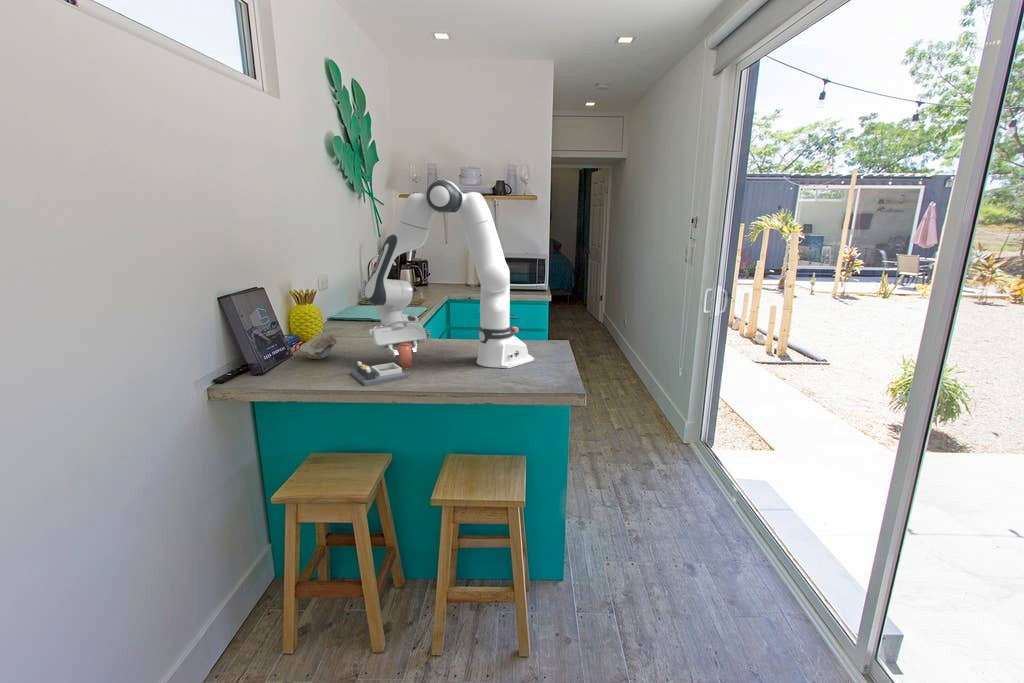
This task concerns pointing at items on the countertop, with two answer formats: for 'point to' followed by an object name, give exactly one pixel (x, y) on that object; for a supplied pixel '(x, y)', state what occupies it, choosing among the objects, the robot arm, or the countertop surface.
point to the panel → (377, 373)
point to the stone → (319, 345)
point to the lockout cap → (405, 355)
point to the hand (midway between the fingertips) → (405, 354)
